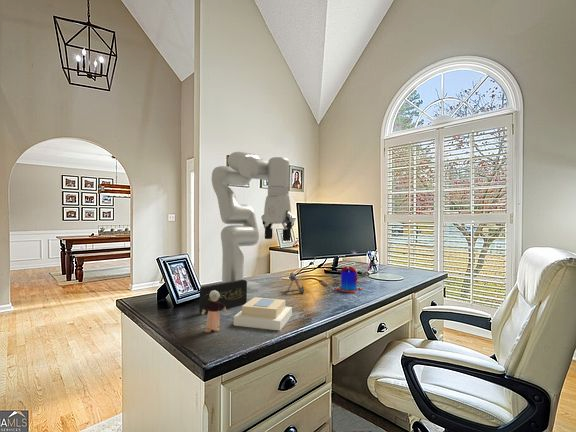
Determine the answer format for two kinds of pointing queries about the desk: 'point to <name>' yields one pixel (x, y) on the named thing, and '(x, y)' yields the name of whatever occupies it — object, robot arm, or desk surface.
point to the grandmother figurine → (213, 311)
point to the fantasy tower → (348, 280)
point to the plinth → (263, 320)
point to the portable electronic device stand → (292, 277)
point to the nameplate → (225, 294)
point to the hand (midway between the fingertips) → (277, 239)
